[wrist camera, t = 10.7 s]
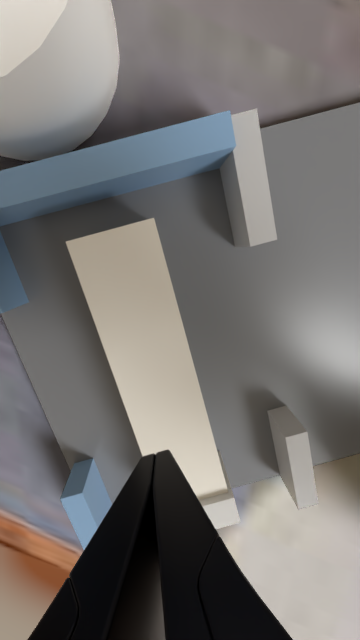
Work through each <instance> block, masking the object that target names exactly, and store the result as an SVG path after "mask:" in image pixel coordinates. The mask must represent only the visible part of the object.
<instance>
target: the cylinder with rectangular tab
mask: <svg viewBox="0 0 360 640" xmlns="http://www.w3.org/2000/svg"><path fill="white" fill-rule="evenodd" d="M119 59H120V57H119V48H118V40H117V31H116V24H115V19H114V13H113V8H112V3H111V0H0V156H4V157H8V158H13V159H18V160H23V161H31V160H43V159H46V158H50V157H54V156H58V155H62V154H65V153H67V152H70V151H73V150H74V149H75V148H76V147H78V146H79V145H80V144H82V143H83V142H84V141H85V140H87V139H88V138H89V137H90V136H92V135H93V133H94V132H95V130H96V129H97V127H98V126H99V125H100V123H101V122H102V120H103V119H104V118H105V116H106V115H107V113H108V110H109V107H110V104H111V102H112V99H113V96H114V93H115V91H116V87H117V78H118V69H119Z"/></svg>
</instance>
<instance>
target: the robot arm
mask: <svg viewBox="0 0 360 640" xmlns="http://www.w3.org/2000/svg"><path fill="white" fill-rule="evenodd" d="M69 576H70V578H67V579H66V580H65V582H64V584H63V585H62V587H61V589H60V590H59V592H58V593H57V595H56V597H55V598H54V600H53V602H52V603H51V605H50V606H49V608H48V609H47V611H46V613H45V614H44V615H43V617H42V619H41V620H40V622H39V623H38V625H37V627H36V628H35V630H34V631H33V632H32V634H31V635H30V637H29V638H28V640H293V639H292V638H291V637H290V635H289V634H288V633H287V632H286V630H285V629H284V628H283V626H282V625H281V624H280V623H279V621H278V620H277V619H276V617H275V616H274V615H273V613H272V612H271V611H270V610H269V608H268V607H267V606H266V604H265V603H264V602H263V600H262V599H261V598H260V597H259V595H258V594H257V592H256V591H255V590H254V588H253V587H252V586H251V584H250V583H249V581H248V580H247V579H246V577H245V576H244V574H243V573H242V572H241V570H240V568H239V567H238V565H237V564H236V562H235V560H234V559H233V557H232V556H231V554H230V553H229V551H228V549H227V548H226V546H225V544H224V542H223V541H222V539H221V537H219V534H218V532H217V531H216V529H215V527H214V525H213V524H212V522H211V520H210V519H209V517H208V515H207V513H206V512H205V510H204V508H203V507H202V505H201V503H200V501H199V500H198V498H197V496H196V495H195V493H194V491H193V489H192V488H191V486H190V484H189V483H188V481H187V479H186V477H185V476H184V474H183V472H182V470H181V469H180V467H179V465H178V464H177V462H176V460H175V458H174V457H173V455H172V453H171V452H170V450H168V449H167V450H163V451H160V452H157V453H156V454H154V453H152V454H149V455H145V456H142V457H141V458H140V460H139V462H138V463H137V465H136V467H135V468H134V470H133V471H132V473H131V475H130V476H129V478H128V480H127V481H126V483H125V484H124V486H123V488H122V489H121V491H120V493H119V494H118V496H117V497H116V499H115V501H114V502H113V504H112V506H111V507H110V509H109V511H108V512H107V514H106V515H105V517H104V519H103V520H102V522H101V524H100V525H99V527H98V528H97V530H96V532H95V533H94V535H93V537H92V538H91V540H90V542H89V543H88V545H87V546H86V548H85V550H84V551H83V553H82V555H81V556H80V558H79V559H78V561H77V563H76V564H75V566H74V568H73V569H72V571H71V572H70V575H69Z"/></svg>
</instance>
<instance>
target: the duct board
mask: <svg viewBox="0 0 360 640" xmlns="http://www.w3.org/2000/svg"><path fill="white" fill-rule="evenodd" d="M151 218H154V220H155V223H156V227H157V231H158V234H159V238H160V242H161V246H162V249H163V253H164V257H165V260H166V264H167V268H168V271H169V275H170V279H171V282H172V286H173V290H174V293H175V297H176V301H177V305H178V308H179V312H180V316H181V319H182V323H183V327H184V330H185V334H186V338H187V341H188V345H189V349H190V352H191V356H192V360H193V364H194V367H195V371H196V375H197V378H198V382H199V386H200V389H201V393H202V397H203V400H204V404H205V408H206V412H207V415H208V419H209V423H210V426H211V430H212V434H213V437H214V441H215V445H216V448H217V451H220V453H221V456H222V460H223V463H224V466H225V470H226V473H227V476H228V479H229V483H230V486H231V488H235V487H239V486H242V485H246V484H250V483H253V482H257V481H261V480H264V479H268V478H271V477H275V476H279V475H280V476H281V478H282V480H283V482H284V483H285V485H286V487H287V489H288V491H289V493H290V495H291V497H292V498H293V500H294V502H295V504H296V506H297V508H298V510H299V509H303V508H306V507H310V506H314V505H317V504H319V503H318V496H317V490H316V483H315V477H314V471H313V466H315V465H319V464H323V463H326V462H330V461H333V460H337V459H341V458H344V457H348V456H352V455H355V454H359V453H360V102H359V103H356V104H352V105H348V106H344V107H340V108H337V109H333V110H329V111H325V112H322V113H318V114H314V115H310V116H306V117H303V118H299V119H295V120H291V121H287V122H284V123H280V124H276V125H272V126H269V127H265V128H261V129H260V126H259V120H258V113H257V109H253V110H249V111H245V112H242V113H238V114H234V115H231V113H230V110H229V111H225V112H221V113H217V114H214V115H210V116H206V117H202V118H198V119H195V120H191V121H187V122H183V123H179V124H176V125H172V126H168V127H164V128H160V129H157V130H153V131H149V132H145V133H141V134H138V135H134V136H130V137H126V138H122V139H119V140H115V141H111V142H107V143H103V144H100V145H96V146H92V147H88V148H84V149H81V150H77V151H73V152H69V153H65V154H62V155H58V156H54V157H50V158H46V159H43V160H39V161H35V162H31V163H27V164H24V165H20V166H16V167H12V168H8V169H5V170H1V171H0V314H1V315H2V318H3V320H4V322H5V324H6V327H7V329H8V331H9V333H10V336H11V338H12V340H13V342H14V345H15V347H16V349H17V352H18V354H19V356H20V358H21V361H22V363H23V365H24V367H25V370H26V372H27V374H28V376H29V379H30V381H31V383H32V385H33V388H34V390H35V392H36V394H37V397H38V399H39V401H40V403H41V406H42V408H43V410H44V412H45V415H46V417H47V419H48V421H49V424H50V426H51V428H52V430H53V433H54V435H55V437H56V439H57V442H58V444H59V446H60V448H61V451H62V453H63V455H64V457H65V460H66V462H67V464H68V467H69V469H70V471H71V473H70V475H69V478H68V480H67V483H66V485H65V488H64V490H63V493H62V496H61V498H60V500H61V502H62V504H63V506H64V508H65V511H66V513H67V515H68V517H69V519H70V521H71V523H72V525H73V528H74V530H75V532H76V534H77V536H78V538H79V540H80V542H81V545H82V547H83V549H84V550H85V548H86V546H87V545H88V543H89V542H90V540H91V538H92V537H93V535H94V533H95V532H96V530H97V528H98V527H99V525H100V524H101V522H102V520H103V519H104V517H105V515H106V514H107V512H108V511H109V509H110V507H111V506H112V504H113V502H114V501H115V499H116V497H117V496H118V494H119V493H120V491H121V489H122V488H123V486H124V484H125V483H126V481H127V480H128V478H129V476H130V475H131V473H132V471H133V470H134V468H135V467H136V465H137V463H138V462H139V460H140V458H141V457H142V453H141V451H140V448H139V445H138V442H137V439H136V437H135V434H134V431H133V428H132V425H131V423H130V420H129V417H128V414H127V412H126V409H125V406H124V403H123V400H122V398H121V395H120V392H119V389H118V387H117V384H116V381H115V378H114V375H113V373H112V370H111V367H110V364H109V361H108V359H107V356H106V353H105V350H104V348H103V345H102V342H101V339H100V336H99V334H98V331H97V328H96V325H95V323H94V320H93V317H92V314H91V311H90V309H89V306H88V303H87V300H86V298H85V295H84V292H83V289H82V286H81V284H80V281H79V278H78V275H77V272H76V270H75V267H74V264H73V261H72V259H71V256H70V253H69V250H68V247H67V245H66V241H70V240H74V239H77V238H81V237H85V236H88V235H92V234H96V233H99V232H103V231H107V230H110V229H114V228H118V227H121V226H125V225H129V224H132V223H136V222H140V221H143V220H147V219H151Z"/></svg>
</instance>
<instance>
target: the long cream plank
mask: <svg viewBox="0 0 360 640" xmlns="http://www.w3.org/2000/svg"><path fill="white" fill-rule="evenodd" d="M66 245H67V247H68V250H69V253H70V256H71V259H72V261H73V264H74V267H75V270H76V272H77V275H78V278H79V281H80V284H81V286H82V289H83V292H84V295H85V298H86V300H87V303H88V306H89V309H90V311H91V314H92V317H93V320H94V323H95V325H96V328H97V331H98V334H99V336H100V339H101V342H102V345H103V348H104V350H105V353H106V356H107V359H108V361H109V364H110V367H111V370H112V373H113V375H114V378H115V381H116V384H117V387H118V389H119V392H120V395H121V398H122V400H123V403H124V406H125V409H126V412H127V414H128V417H129V420H130V423H131V425H132V428H133V431H134V434H135V437H136V439H137V442H138V445H139V448H140V451H141V453H142V456H145V455H149V454H152V453H154V454H156V453H157V452H160V451H163V450H167V449H168V450H170V452H171V453H172V455H173V457H174V458H175V460H176V462H177V464H178V465H179V467H180V469H181V470H182V472H183V474H184V476H185V477H186V479H187V481H188V483H189V484H190V486H191V488H192V489H193V491H194V493H195V495H196V496H197V498H198V500H199V501H200V503H201V505H202V507H203V508H204V510H205V512H206V513H207V515H208V517H209V519H210V520H211V522H212V524H213V525H214V527H215V529H219V528H222V527H226V526H230V525H233V524H237V523H240V518H239V515H238V511H237V507H236V503H235V499H234V496H233V493H232V489H231V486H230V483H229V479H228V476H227V473H226V470H225V466H224V463H223V460H222V456H221V453H220V451H217V448H216V445H215V441H214V437H213V434H212V430H211V426H210V423H209V419H208V415H207V412H206V408H205V404H204V400H203V397H202V393H201V389H200V386H199V382H198V378H197V375H196V371H195V367H194V364H193V360H192V356H191V352H190V349H189V345H188V341H187V338H186V334H185V330H184V327H183V323H182V319H181V316H180V312H179V308H178V305H177V301H176V297H175V293H174V290H173V286H172V282H171V279H170V275H169V271H168V268H167V264H166V260H165V257H164V253H163V249H162V246H161V242H160V238H159V234H158V231H157V227H156V223H155V220H154V218H151V219H147V220H143V221H140V222H136V223H132V224H129V225H125V226H121V227H118V228H114V229H110V230H107V231H103V232H99V233H96V234H92V235H88V236H85V237H81V238H77V239H74V240H70V241H66Z"/></svg>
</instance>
